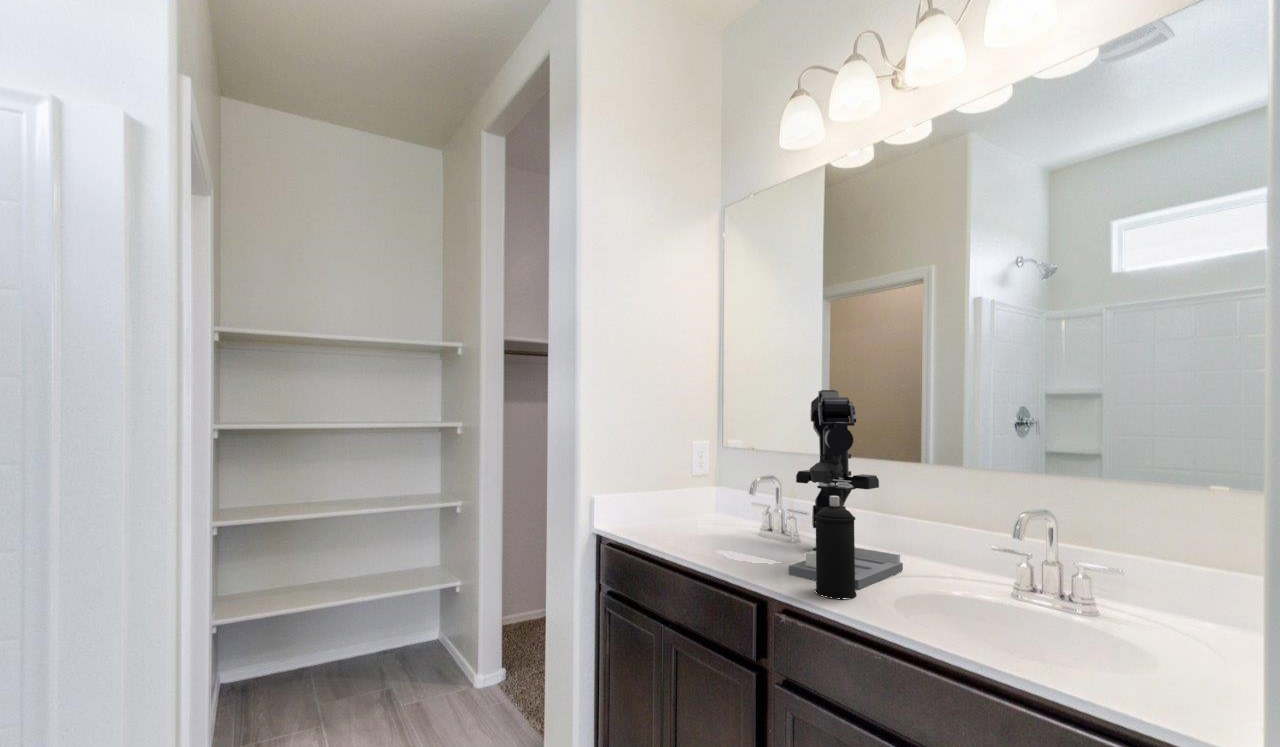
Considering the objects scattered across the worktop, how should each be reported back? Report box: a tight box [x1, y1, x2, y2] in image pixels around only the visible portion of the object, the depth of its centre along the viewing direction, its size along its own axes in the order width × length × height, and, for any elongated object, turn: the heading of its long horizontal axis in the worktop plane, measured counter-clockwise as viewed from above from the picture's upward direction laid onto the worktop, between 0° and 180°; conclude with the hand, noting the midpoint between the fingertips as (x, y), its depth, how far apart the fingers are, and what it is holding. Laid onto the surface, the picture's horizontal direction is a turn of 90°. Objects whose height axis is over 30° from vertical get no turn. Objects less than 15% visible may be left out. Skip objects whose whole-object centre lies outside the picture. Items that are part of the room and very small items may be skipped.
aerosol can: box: [814, 496, 857, 600], centre depth 131 cm, size 8×8×20 cm
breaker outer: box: [805, 550, 816, 568], centre depth 145 cm, size 3×3×3 cm
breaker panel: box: [788, 546, 904, 591], centre depth 147 cm, size 22×17×4 cm
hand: (836, 515), depth 149 cm, fingers closed
